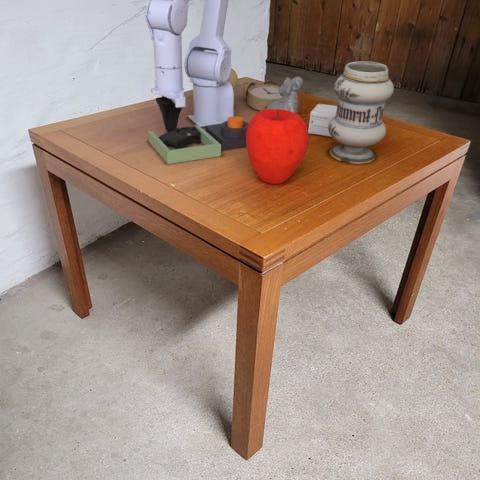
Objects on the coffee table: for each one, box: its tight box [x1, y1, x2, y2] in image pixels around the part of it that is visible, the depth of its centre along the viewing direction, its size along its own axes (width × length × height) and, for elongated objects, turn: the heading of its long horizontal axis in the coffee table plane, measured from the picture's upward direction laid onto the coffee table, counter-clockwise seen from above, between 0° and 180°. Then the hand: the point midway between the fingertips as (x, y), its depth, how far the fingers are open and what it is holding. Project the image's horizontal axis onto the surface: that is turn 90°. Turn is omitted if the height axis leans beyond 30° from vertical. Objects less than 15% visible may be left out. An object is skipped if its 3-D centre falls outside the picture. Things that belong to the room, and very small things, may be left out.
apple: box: [245, 109, 310, 185], centre depth 96 cm, size 12×12×13 cm
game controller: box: [158, 125, 202, 149], centre depth 114 cm, size 10×5×6 cm
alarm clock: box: [242, 80, 283, 111], centre depth 138 cm, size 11×5×15 cm
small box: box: [307, 103, 337, 138], centre depth 121 cm, size 8×8×5 cm
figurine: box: [267, 76, 304, 116], centre depth 123 cm, size 8×10×11 cm
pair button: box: [227, 115, 245, 128], centre depth 113 cm, size 4×4×2 cm
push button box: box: [204, 121, 250, 151], centre depth 115 cm, size 10×9×4 cm
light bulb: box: [227, 67, 239, 92], centre depth 132 cm, size 6×6×10 cm
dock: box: [147, 124, 222, 165], centre depth 111 cm, size 12×14×2 cm
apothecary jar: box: [328, 60, 394, 165], centre depth 106 cm, size 12×12×18 cm
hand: (171, 131), depth 115 cm, fingers closed, pressing on game controller
